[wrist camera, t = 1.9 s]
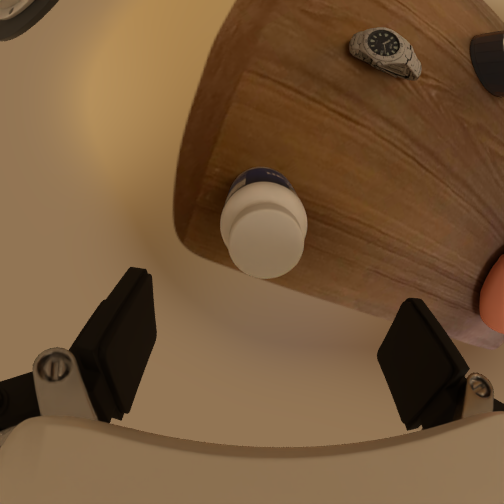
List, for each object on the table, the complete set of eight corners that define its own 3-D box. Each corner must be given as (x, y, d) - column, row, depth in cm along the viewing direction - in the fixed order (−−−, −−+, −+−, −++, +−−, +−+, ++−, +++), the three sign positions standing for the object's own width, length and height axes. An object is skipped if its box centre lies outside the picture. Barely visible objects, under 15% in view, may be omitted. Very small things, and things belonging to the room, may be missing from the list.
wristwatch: (348, 31, 16) (371, 13, 12) (409, 62, 17) (440, 55, 12) (339, 63, 18) (360, 50, 13) (401, 93, 18) (432, 91, 14)
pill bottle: (305, 189, 23) (338, 235, 14) (268, 237, 25) (277, 305, 16) (252, 152, 21) (252, 174, 13) (216, 205, 23) (195, 258, 15)
